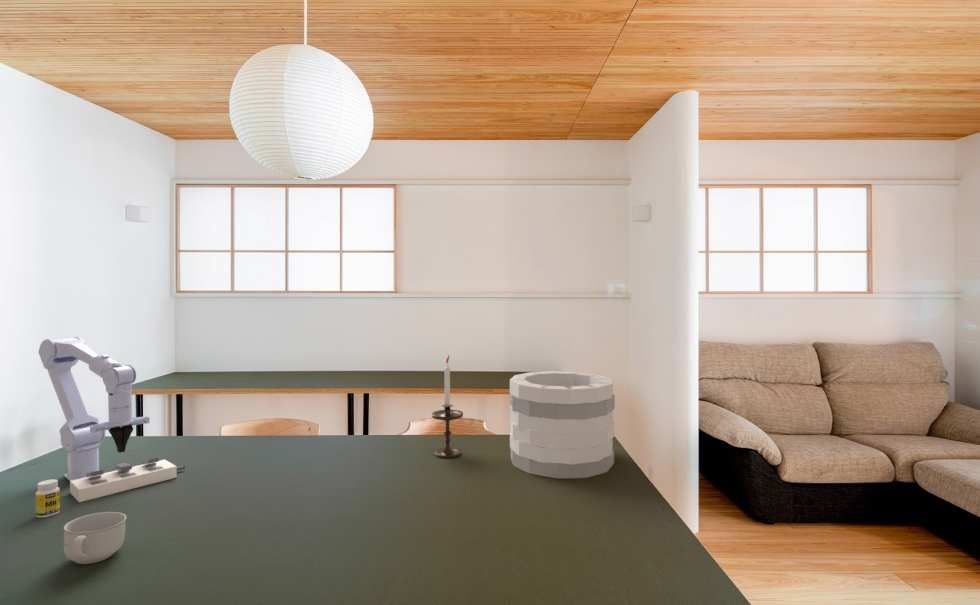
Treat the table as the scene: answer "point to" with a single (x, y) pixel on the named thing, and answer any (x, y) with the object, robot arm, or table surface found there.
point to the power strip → (122, 480)
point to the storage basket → (562, 423)
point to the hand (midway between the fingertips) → (121, 451)
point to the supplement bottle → (47, 498)
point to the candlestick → (447, 419)
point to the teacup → (94, 537)
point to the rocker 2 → (123, 467)
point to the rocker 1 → (94, 473)
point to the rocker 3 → (150, 461)
